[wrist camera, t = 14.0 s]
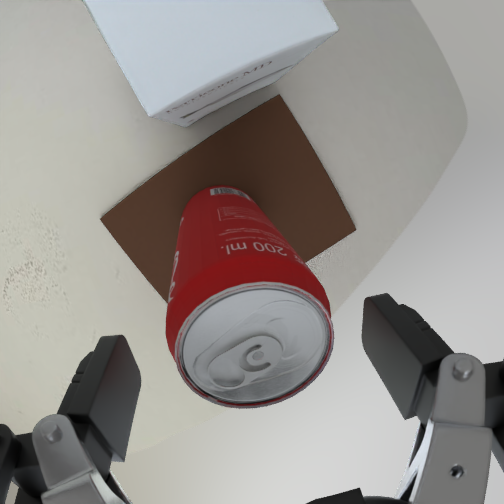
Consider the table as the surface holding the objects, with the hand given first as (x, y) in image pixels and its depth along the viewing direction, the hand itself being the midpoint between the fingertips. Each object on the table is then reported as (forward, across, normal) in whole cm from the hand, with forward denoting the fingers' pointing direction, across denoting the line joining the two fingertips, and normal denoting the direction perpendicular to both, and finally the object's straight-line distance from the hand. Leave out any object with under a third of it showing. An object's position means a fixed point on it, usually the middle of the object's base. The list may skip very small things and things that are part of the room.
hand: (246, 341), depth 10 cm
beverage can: (+14, 0, 0) cm, 14 cm away
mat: (+14, 0, 0) cm, 14 cm away
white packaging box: (+15, 0, -12) cm, 19 cm away
